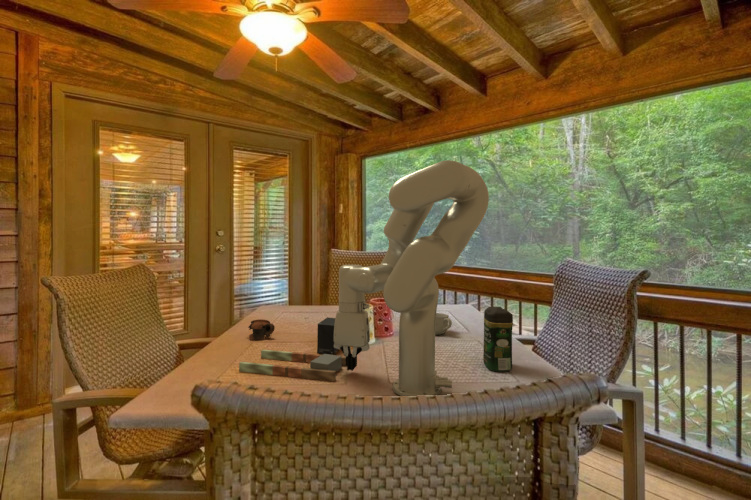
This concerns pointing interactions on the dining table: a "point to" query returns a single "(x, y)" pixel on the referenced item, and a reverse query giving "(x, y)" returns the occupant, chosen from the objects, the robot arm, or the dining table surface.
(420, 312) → the robot arm
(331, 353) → the small box
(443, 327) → the teacup
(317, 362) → the grey block
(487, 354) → the coffee jar
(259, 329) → the pottery mug
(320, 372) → the channel
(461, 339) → the dining table surface
